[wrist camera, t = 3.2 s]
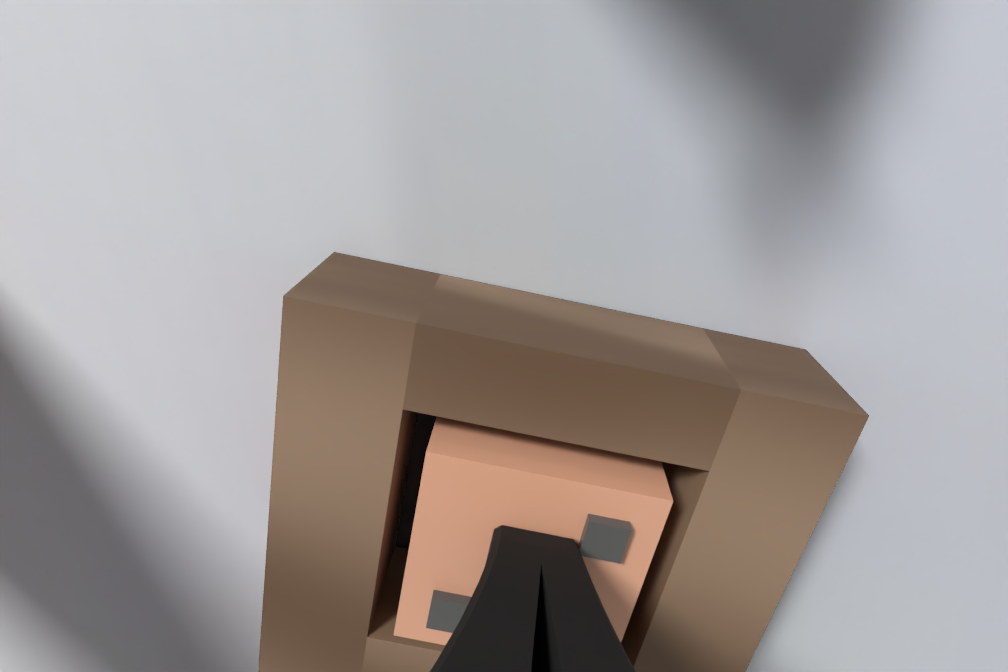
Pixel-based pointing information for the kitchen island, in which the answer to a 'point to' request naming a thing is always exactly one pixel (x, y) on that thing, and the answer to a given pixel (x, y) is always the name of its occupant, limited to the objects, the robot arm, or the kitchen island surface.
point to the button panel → (543, 413)
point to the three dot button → (525, 518)
